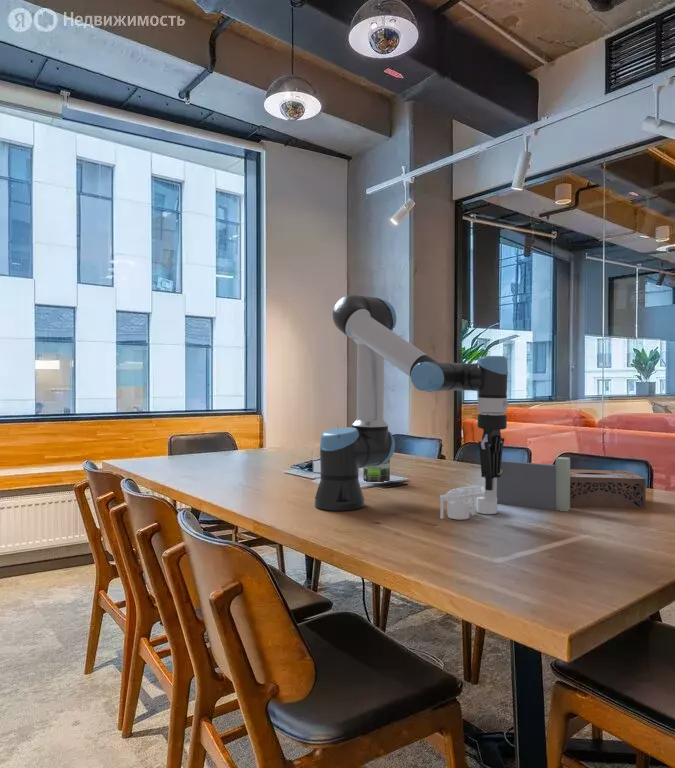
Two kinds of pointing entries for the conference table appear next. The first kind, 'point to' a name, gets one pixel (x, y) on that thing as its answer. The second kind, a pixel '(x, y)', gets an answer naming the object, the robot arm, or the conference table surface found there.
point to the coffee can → (377, 473)
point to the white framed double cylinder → (466, 503)
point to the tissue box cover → (607, 489)
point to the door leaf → (535, 484)
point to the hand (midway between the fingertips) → (490, 501)
